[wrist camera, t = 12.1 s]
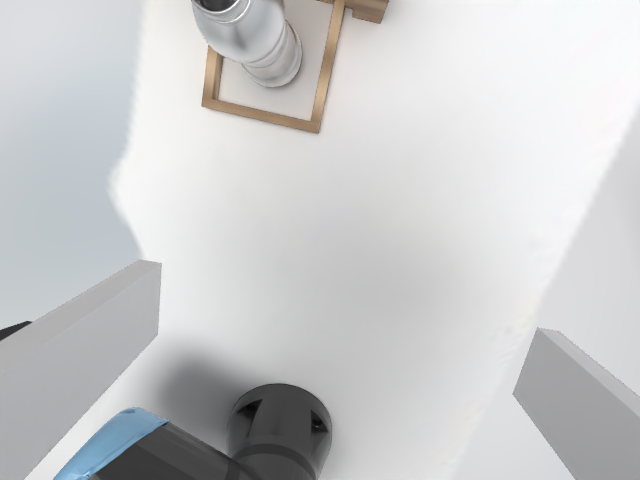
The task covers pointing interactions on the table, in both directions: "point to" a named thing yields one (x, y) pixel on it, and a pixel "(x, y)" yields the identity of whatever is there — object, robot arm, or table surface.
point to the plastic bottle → (252, 37)
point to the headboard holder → (366, 6)
